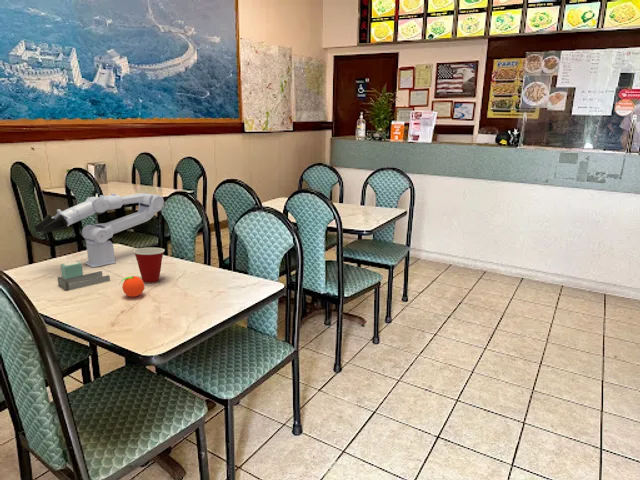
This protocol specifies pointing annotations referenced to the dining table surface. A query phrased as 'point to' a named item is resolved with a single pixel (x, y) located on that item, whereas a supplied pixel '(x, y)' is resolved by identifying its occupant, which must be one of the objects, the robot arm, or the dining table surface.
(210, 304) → the dining table surface
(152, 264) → the plastic cup
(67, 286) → the rail
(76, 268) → the module
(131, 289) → the clementine
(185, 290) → the dining table surface
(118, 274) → the dining table surface
